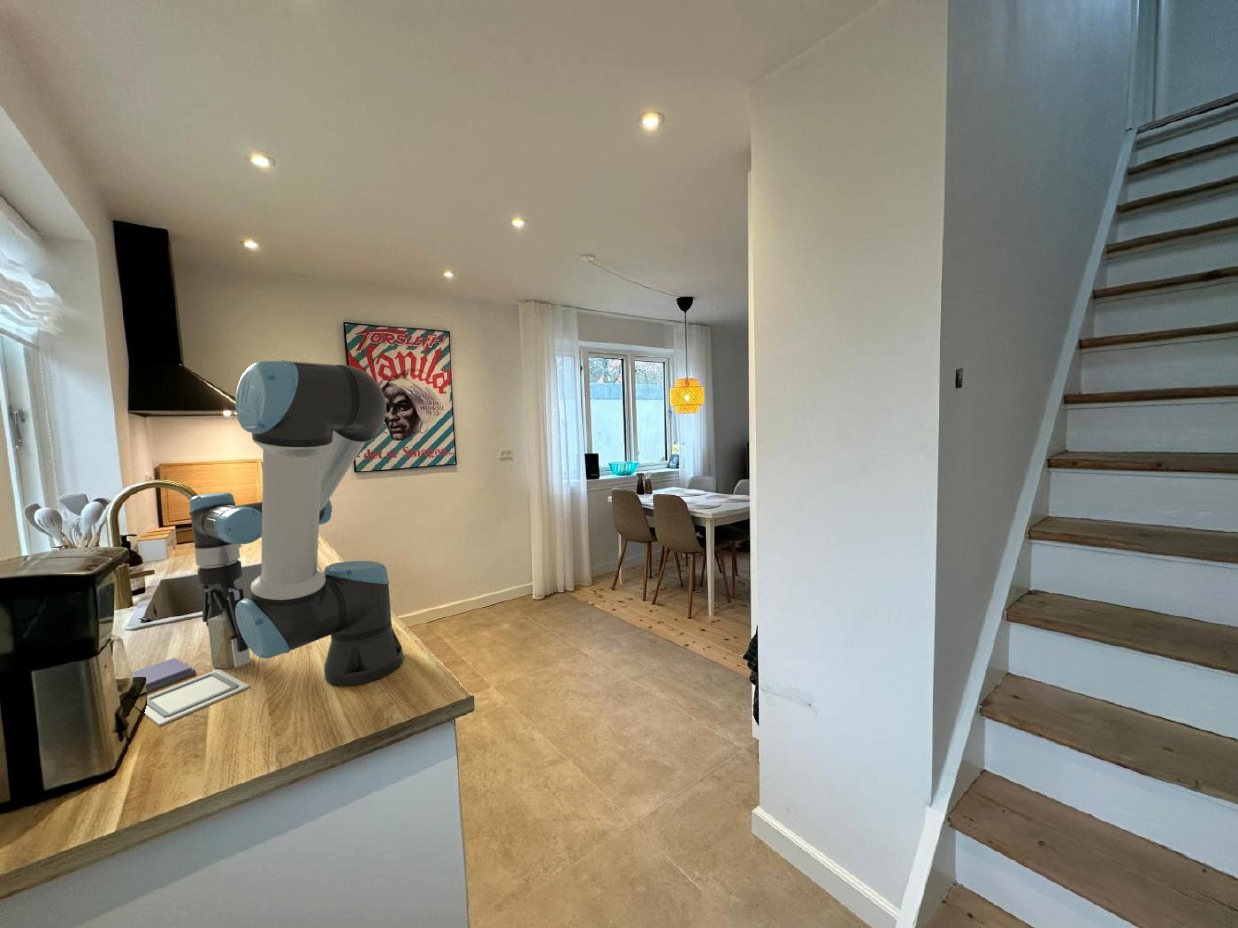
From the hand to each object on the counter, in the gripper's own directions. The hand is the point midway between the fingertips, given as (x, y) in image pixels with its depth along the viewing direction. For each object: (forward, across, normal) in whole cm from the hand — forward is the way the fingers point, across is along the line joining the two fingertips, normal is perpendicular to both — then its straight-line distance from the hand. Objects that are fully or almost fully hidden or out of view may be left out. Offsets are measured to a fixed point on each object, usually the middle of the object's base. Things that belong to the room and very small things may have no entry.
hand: (230, 658), depth 110 cm
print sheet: (+1, -9, +10) cm, 13 cm away
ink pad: (+1, +6, +11) cm, 13 cm away
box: (+1, 0, 0) cm, 1 cm away
